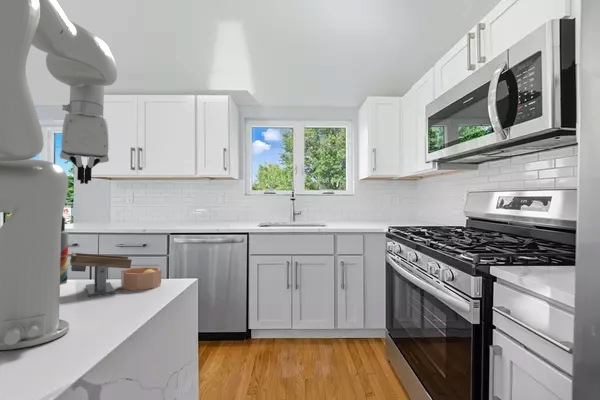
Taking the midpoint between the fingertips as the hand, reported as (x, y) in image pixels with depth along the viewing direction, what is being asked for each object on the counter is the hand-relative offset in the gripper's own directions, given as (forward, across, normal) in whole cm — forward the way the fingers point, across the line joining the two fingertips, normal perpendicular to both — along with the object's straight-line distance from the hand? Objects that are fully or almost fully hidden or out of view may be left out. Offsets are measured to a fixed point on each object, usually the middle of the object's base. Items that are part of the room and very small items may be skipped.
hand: (84, 183), depth 89 cm
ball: (+26, +17, +6) cm, 32 cm away
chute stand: (+29, +5, +6) cm, 30 cm away
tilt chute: (+23, +4, +10) cm, 26 cm away
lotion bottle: (+28, -5, +23) cm, 37 cm away
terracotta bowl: (+29, +15, +6) cm, 33 cm away
